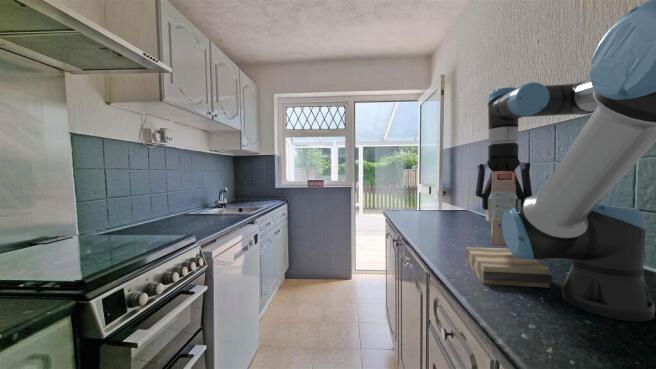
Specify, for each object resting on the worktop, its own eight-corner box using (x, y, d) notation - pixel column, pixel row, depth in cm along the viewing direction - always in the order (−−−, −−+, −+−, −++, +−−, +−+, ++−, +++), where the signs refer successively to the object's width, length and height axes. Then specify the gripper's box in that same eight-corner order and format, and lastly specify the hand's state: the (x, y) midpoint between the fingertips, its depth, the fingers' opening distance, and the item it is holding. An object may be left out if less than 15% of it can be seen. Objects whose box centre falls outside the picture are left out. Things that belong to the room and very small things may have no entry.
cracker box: (517, 247, 78) (516, 170, 77) (491, 245, 81) (491, 171, 80) (513, 236, 91) (512, 170, 90) (491, 234, 94) (490, 170, 93)
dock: (551, 289, 75) (552, 270, 74) (484, 285, 78) (484, 267, 78) (518, 263, 94) (519, 248, 94) (466, 261, 98) (466, 247, 97)
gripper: (535, 142, 86) (534, 218, 87) (463, 145, 90) (463, 218, 92) (548, 140, 79) (547, 223, 80) (469, 143, 83) (469, 222, 84)
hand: (502, 220), depth 86 cm, fingers closed on cracker box, 7 cm apart
